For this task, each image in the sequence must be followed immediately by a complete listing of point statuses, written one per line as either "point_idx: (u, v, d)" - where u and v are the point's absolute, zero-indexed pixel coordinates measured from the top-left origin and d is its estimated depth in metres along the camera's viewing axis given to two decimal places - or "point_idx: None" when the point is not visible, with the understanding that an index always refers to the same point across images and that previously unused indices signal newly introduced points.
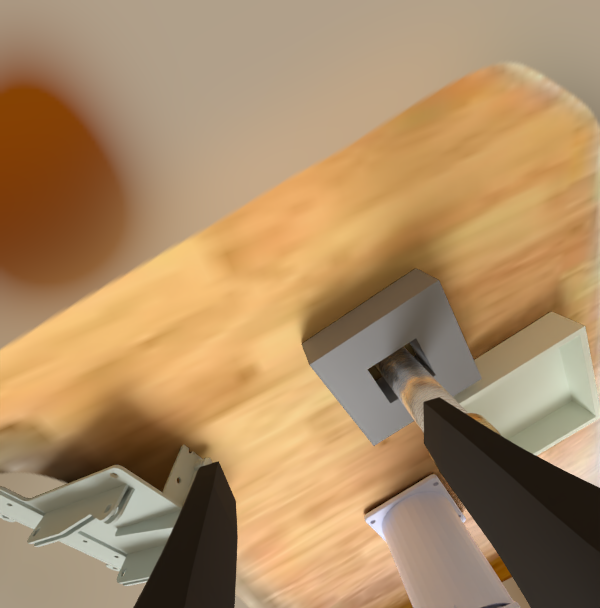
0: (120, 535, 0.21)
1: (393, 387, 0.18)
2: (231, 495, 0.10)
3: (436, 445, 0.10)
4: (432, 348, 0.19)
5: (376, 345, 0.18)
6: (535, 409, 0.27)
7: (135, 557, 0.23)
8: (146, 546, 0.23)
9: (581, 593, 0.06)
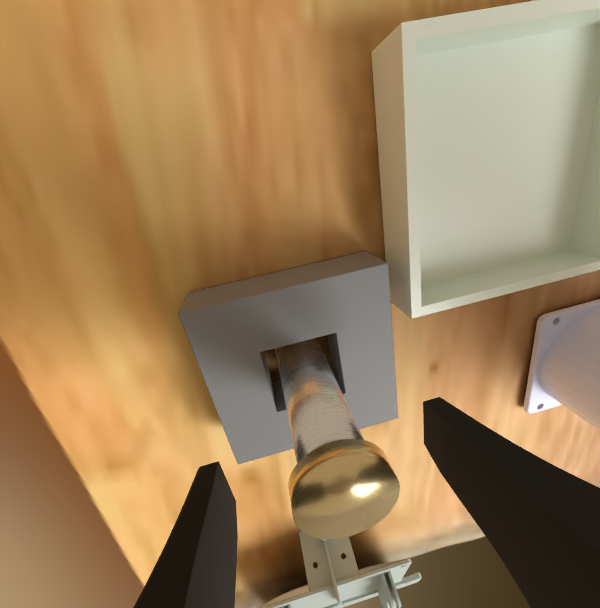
0: None
1: None
2: (231, 495, 0.10)
3: (436, 445, 0.10)
4: (288, 332, 0.13)
5: (247, 399, 0.14)
6: (561, 121, 0.14)
7: (379, 593, 0.25)
8: (373, 586, 0.25)
9: (581, 593, 0.06)
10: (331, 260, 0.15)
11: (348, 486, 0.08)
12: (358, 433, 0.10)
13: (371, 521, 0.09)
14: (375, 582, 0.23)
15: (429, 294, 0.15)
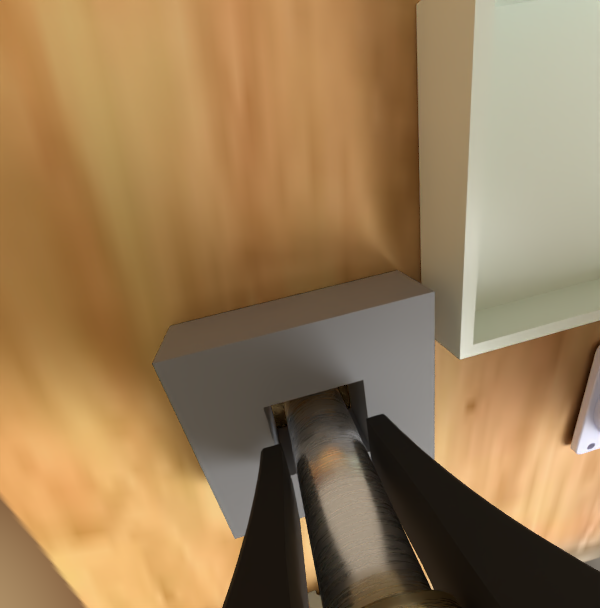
0: None
1: None
2: (290, 477, 0.10)
3: (378, 463, 0.10)
4: (301, 382, 0.10)
5: (246, 464, 0.11)
6: None
7: None
8: None
9: None
10: (354, 282, 0.12)
11: None
12: (412, 556, 0.07)
13: None
14: None
15: (478, 325, 0.12)
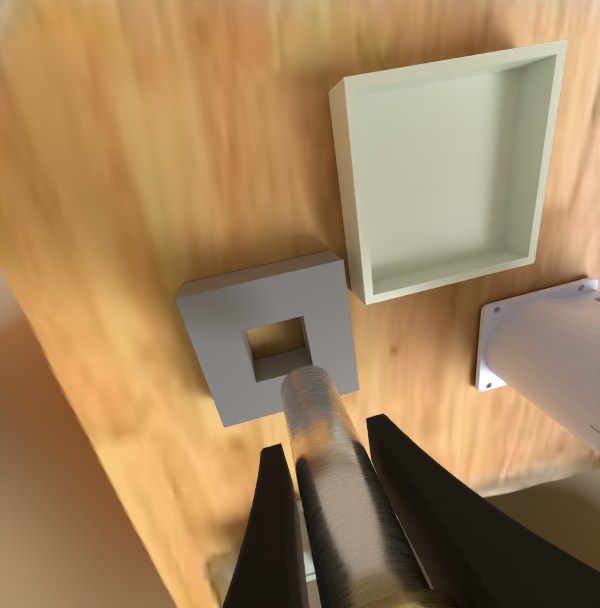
0: None
1: None
2: (290, 477, 0.10)
3: (378, 463, 0.10)
4: (263, 315, 0.16)
5: (231, 370, 0.17)
6: (486, 145, 0.17)
7: None
8: None
9: None
10: (301, 257, 0.18)
11: None
12: (411, 556, 0.07)
13: None
14: None
15: (382, 285, 0.18)
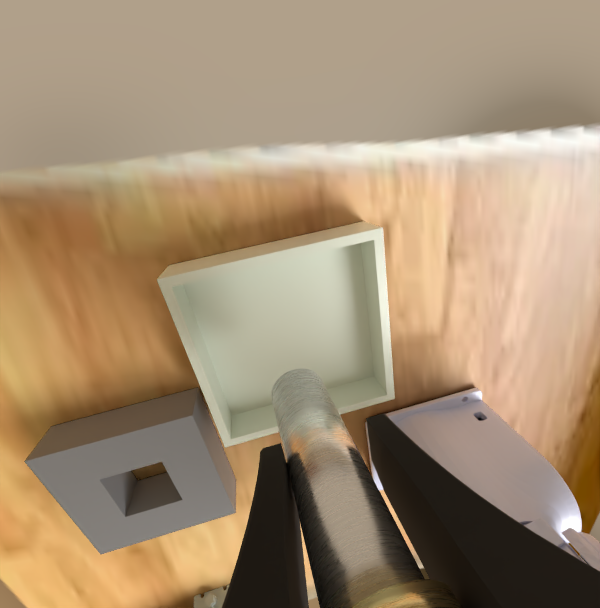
0: None
1: None
2: None
3: (378, 463, 0.10)
4: (120, 465, 0.17)
5: (96, 510, 0.18)
6: (338, 295, 0.18)
7: None
8: None
9: None
10: (167, 397, 0.19)
11: None
12: (407, 550, 0.07)
13: None
14: None
15: (247, 422, 0.19)
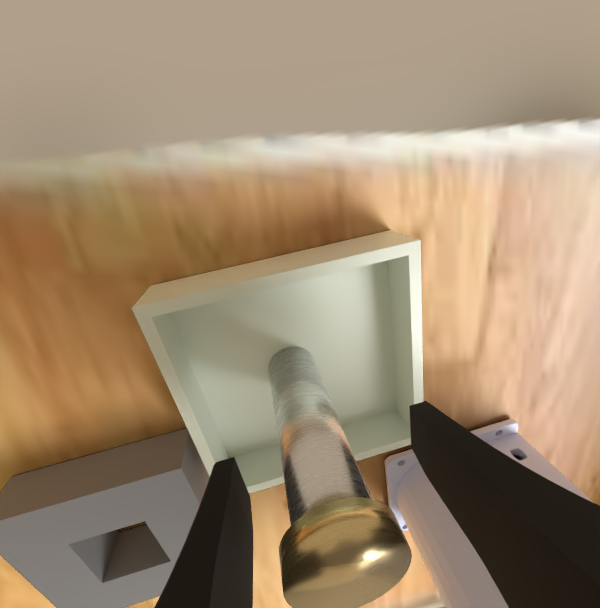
0: None
1: None
2: (246, 491, 0.10)
3: (422, 449, 0.10)
4: (93, 527, 0.14)
5: (67, 577, 0.15)
6: (358, 319, 0.15)
7: None
8: None
9: (557, 602, 0.06)
10: (152, 440, 0.16)
11: (351, 558, 0.07)
12: (362, 483, 0.09)
13: (375, 593, 0.08)
14: None
15: (247, 469, 0.16)
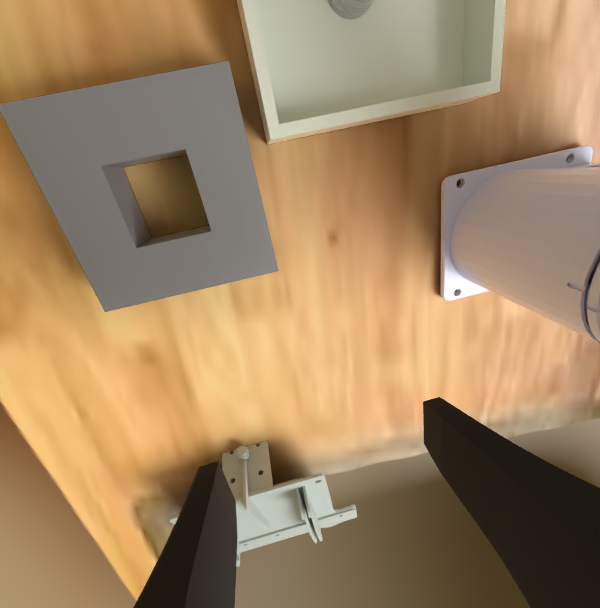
0: (265, 527, 0.24)
1: None
2: (231, 495, 0.10)
3: (436, 445, 0.10)
4: (129, 143, 0.13)
5: (98, 227, 0.14)
6: None
7: None
8: None
9: (581, 593, 0.06)
10: None
11: None
12: None
13: None
14: (299, 504, 0.24)
15: None
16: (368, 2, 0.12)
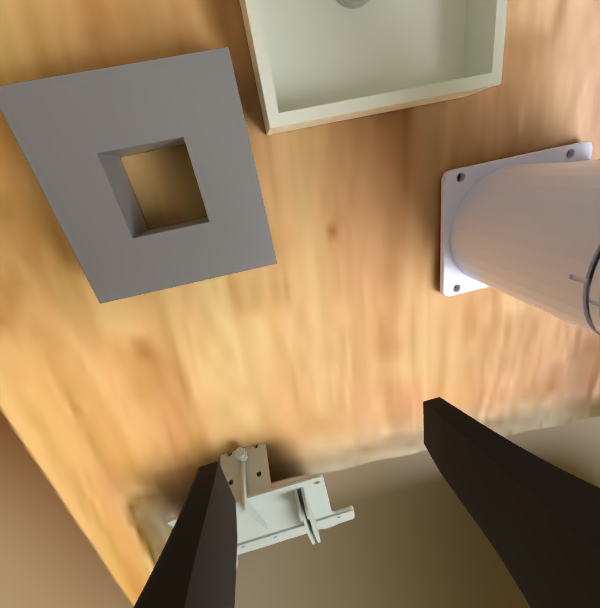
0: (263, 529, 0.24)
1: None
2: (231, 495, 0.10)
3: (436, 445, 0.10)
4: (126, 130, 0.12)
5: (94, 216, 0.13)
6: None
7: (308, 522, 0.26)
8: None
9: (581, 593, 0.06)
10: None
11: None
12: None
13: None
14: None
15: None
16: None
